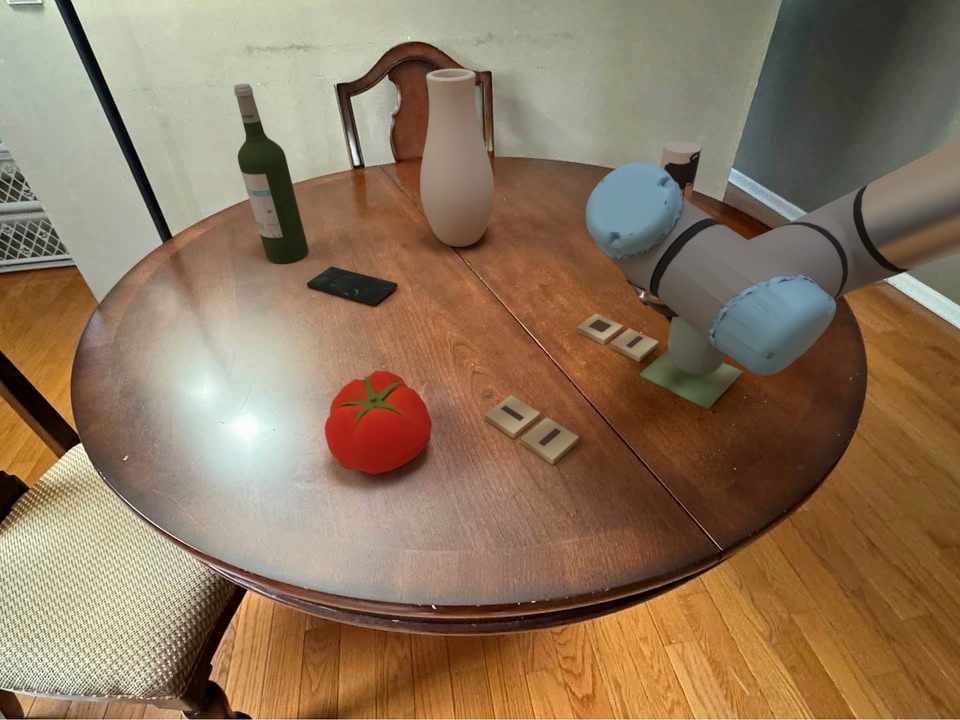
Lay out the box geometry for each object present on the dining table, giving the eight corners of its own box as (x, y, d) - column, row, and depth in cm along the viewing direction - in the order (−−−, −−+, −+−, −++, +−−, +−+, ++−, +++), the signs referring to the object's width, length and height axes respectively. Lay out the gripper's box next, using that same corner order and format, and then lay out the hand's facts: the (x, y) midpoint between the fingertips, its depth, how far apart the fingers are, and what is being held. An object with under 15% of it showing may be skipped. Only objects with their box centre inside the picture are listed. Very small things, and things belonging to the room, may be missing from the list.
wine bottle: (314, 245, 110) (275, 79, 91) (300, 264, 104) (255, 91, 85) (276, 244, 111) (229, 80, 92) (260, 264, 105) (206, 91, 86)
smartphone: (331, 265, 101) (398, 282, 95) (332, 270, 102) (399, 287, 96) (305, 283, 97) (373, 302, 91) (306, 288, 97) (374, 307, 91)
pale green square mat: (742, 372, 76) (745, 366, 75) (707, 410, 70) (709, 403, 70) (604, 311, 88) (605, 305, 88) (565, 339, 83) (566, 333, 82)
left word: (578, 442, 67) (579, 435, 66) (552, 465, 64) (553, 459, 63) (511, 400, 73) (511, 393, 72) (484, 419, 70) (484, 413, 69)
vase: (418, 255, 105) (398, 82, 87) (434, 224, 116) (420, 64, 97) (489, 259, 103) (485, 83, 85) (499, 227, 114) (497, 64, 95)
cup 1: (683, 231, 110) (699, 154, 100) (648, 226, 112) (661, 151, 103) (687, 217, 115) (703, 143, 105) (654, 213, 117) (666, 140, 107)
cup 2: (736, 369, 74) (757, 305, 68) (697, 392, 71) (716, 327, 64) (688, 341, 79) (704, 280, 73) (650, 361, 76) (663, 299, 69)
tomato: (414, 499, 61) (405, 445, 56) (313, 477, 64) (295, 424, 58) (450, 419, 70) (445, 367, 65) (360, 403, 73) (349, 352, 68)
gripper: (570, 270, 62) (630, 327, 80) (754, 346, 50) (775, 392, 69) (603, 210, 61) (656, 281, 80) (796, 272, 50) (805, 339, 68)
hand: (711, 332), depth 74 cm, fingers closed on cup 2, 8 cm apart
